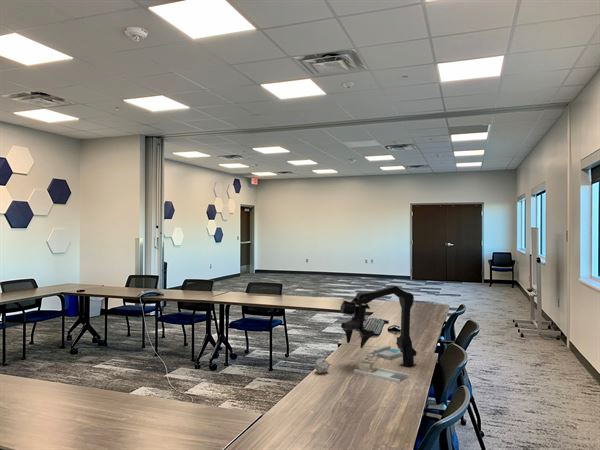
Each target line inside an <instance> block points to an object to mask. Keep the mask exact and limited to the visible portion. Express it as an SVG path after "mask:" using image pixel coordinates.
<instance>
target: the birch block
mask: <svg viewBox="0 0 600 450" xmlns="http://www.w3.org/2000/svg"><path fill="white" fill-rule="evenodd" d="M375 367H376V362H375V361H371V360H367V359H366V360H363V361H359V363H358V370H361V371H365V372H369V373H372V372H374V371H375Z"/></svg>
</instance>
